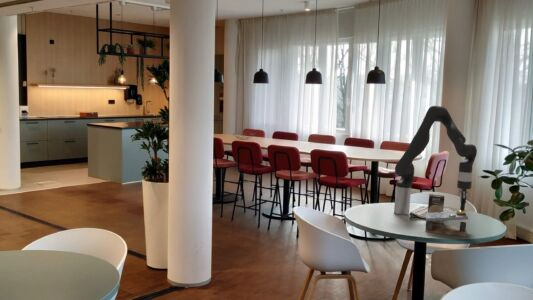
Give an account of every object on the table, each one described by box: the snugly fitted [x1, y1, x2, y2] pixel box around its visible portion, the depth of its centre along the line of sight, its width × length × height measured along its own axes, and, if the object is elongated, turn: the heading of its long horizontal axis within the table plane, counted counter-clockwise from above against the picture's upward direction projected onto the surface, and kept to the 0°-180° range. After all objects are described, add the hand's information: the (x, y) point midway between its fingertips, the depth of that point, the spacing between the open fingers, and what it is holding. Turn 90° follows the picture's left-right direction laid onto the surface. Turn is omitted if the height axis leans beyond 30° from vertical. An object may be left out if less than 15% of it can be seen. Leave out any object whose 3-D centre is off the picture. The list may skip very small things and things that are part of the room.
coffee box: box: [427, 193, 445, 225], centre depth 329 cm, size 9×6×16 cm
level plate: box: [425, 209, 469, 222], centre depth 309 cm, size 22×16×4 cm
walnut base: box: [425, 220, 468, 237], centre depth 310 cm, size 22×17×6 cm
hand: (462, 210), depth 306 cm, fingers closed
